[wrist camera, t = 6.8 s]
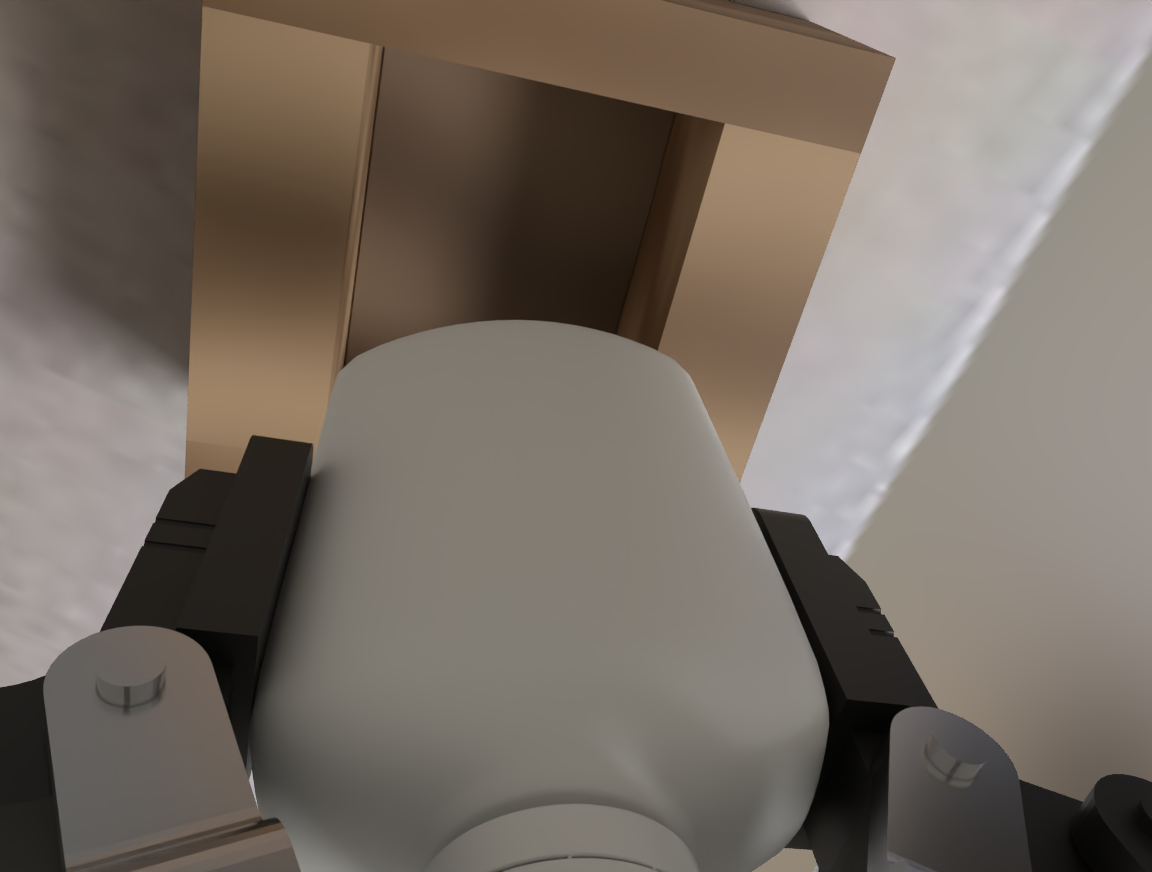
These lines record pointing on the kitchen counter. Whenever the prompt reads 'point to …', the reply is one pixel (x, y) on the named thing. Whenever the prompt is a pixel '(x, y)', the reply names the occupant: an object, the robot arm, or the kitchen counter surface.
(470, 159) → the socket block
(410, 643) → the eye dropper bottle
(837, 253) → the kitchen counter surface
